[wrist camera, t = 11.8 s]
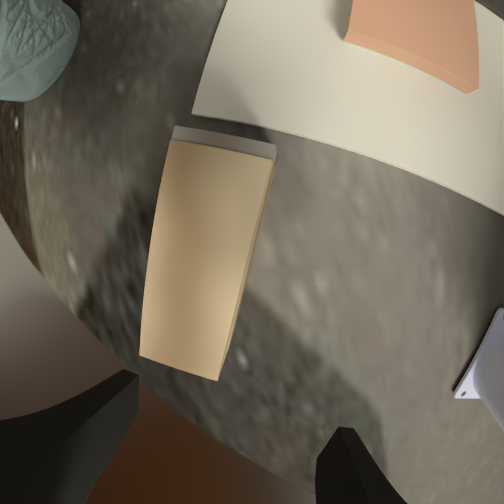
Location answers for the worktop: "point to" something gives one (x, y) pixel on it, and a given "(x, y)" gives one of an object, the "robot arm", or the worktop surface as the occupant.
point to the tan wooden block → (203, 246)
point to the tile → (421, 36)
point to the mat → (358, 93)
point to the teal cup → (34, 45)
